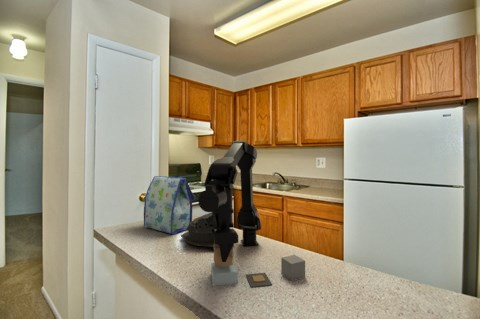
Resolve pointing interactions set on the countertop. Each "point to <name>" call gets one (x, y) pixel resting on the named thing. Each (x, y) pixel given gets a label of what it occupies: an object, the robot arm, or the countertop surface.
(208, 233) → the casserole
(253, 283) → the mat
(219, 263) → the walnut cube
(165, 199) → the lunch bag
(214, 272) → the base block
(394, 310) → the countertop surface
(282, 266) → the grey cube
